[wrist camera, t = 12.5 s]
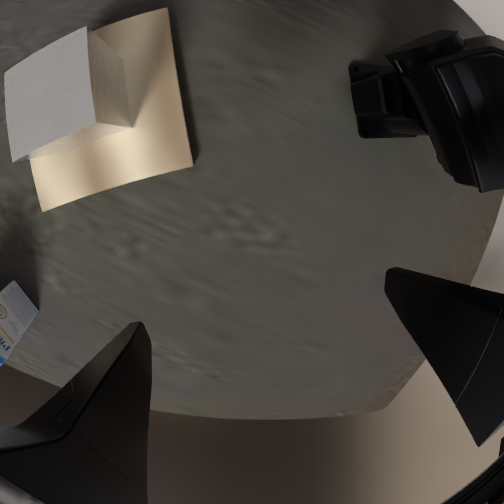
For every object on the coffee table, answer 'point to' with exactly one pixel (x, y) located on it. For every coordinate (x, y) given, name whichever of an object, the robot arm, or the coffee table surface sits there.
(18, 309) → the medicine box
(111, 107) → the grey block
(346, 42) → the coffee table surface
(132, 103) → the post board
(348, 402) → the coffee table surface
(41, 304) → the coffee table surface
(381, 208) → the coffee table surface
